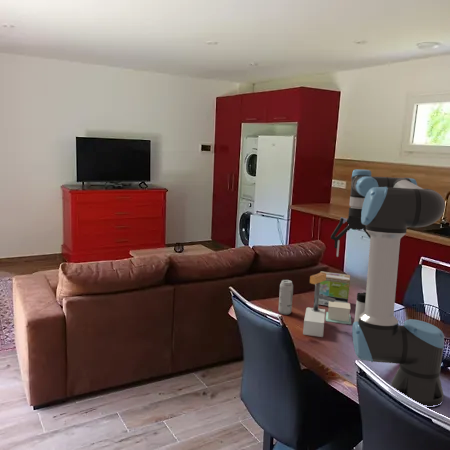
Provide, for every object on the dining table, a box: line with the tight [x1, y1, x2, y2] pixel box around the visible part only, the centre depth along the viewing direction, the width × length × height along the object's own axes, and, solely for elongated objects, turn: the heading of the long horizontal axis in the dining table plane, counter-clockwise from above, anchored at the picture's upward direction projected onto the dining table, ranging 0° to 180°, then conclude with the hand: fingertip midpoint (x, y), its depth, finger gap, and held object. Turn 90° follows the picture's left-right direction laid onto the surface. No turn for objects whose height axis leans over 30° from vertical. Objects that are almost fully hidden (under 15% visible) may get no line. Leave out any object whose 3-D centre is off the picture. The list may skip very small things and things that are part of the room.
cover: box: [327, 301, 351, 322], centre depth 202 cm, size 7×9×6 cm
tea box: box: [318, 271, 351, 307], centre depth 220 cm, size 15×10×15 cm, turn 73°
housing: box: [302, 306, 326, 338], centre depth 190 cm, size 16×8×6 cm, turn 166°
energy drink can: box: [278, 279, 294, 316], centre depth 206 cm, size 6×6×15 cm
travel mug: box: [354, 291, 366, 322], centre depth 179 cm, size 6×7×20 cm
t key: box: [309, 272, 335, 311], centre depth 191 cm, size 10×9×16 cm
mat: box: [325, 311, 352, 325], centre depth 202 cm, size 11×11×1 cm
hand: (354, 257), depth 188 cm, fingers open, 13 cm apart
